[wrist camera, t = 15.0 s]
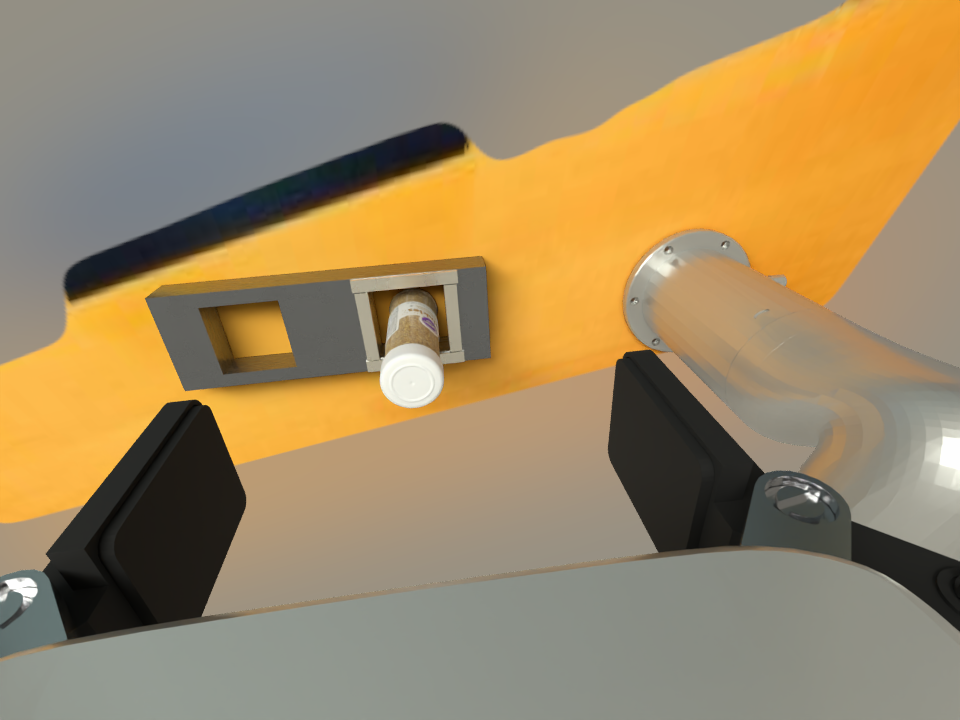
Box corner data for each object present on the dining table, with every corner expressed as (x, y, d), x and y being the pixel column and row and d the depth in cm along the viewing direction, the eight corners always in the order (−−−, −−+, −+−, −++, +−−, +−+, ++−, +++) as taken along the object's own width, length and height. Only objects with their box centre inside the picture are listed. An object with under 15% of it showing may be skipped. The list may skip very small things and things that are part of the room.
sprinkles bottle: (445, 300, 45) (456, 372, 34) (422, 338, 47) (425, 419, 35) (402, 277, 44) (397, 344, 32) (380, 317, 45) (367, 395, 34)
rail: (481, 256, 44) (486, 267, 41) (486, 343, 48) (491, 359, 45) (161, 285, 42) (143, 299, 39) (197, 374, 46) (183, 392, 43)
